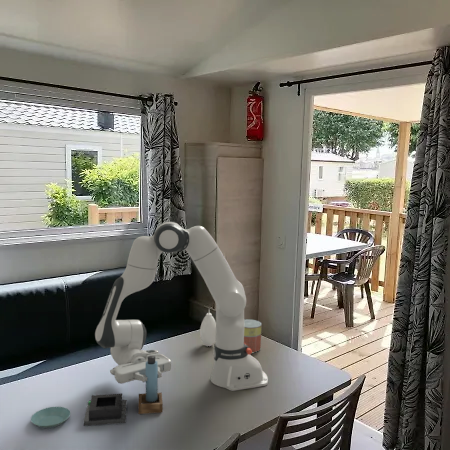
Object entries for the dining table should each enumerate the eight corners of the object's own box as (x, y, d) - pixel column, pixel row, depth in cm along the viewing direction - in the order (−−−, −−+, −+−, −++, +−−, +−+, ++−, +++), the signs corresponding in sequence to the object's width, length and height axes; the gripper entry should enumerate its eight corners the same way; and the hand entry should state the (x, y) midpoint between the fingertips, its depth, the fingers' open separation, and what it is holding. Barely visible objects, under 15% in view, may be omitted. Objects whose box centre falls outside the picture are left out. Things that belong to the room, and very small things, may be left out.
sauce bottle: (210, 350, 208) (211, 311, 206) (196, 346, 212) (197, 308, 210) (219, 345, 214) (220, 307, 212) (206, 341, 219) (207, 304, 216)
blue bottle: (157, 395, 160) (157, 354, 158) (157, 401, 156) (157, 359, 154) (145, 396, 159) (145, 355, 157) (145, 402, 155) (145, 359, 153)
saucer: (24, 423, 146) (23, 416, 146) (57, 408, 155) (57, 402, 155) (43, 437, 139) (43, 430, 139) (77, 421, 148) (77, 414, 148)
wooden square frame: (161, 400, 162) (161, 392, 162) (162, 412, 154) (162, 403, 154) (138, 401, 161) (138, 393, 160) (138, 414, 153) (138, 405, 153)
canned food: (242, 342, 219) (243, 317, 218) (264, 346, 214) (265, 321, 213) (232, 350, 209) (232, 324, 208) (254, 355, 204) (255, 329, 203)
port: (126, 404, 159) (126, 391, 158) (125, 423, 147) (125, 409, 147) (87, 406, 157) (87, 394, 156) (83, 425, 145) (83, 412, 144)
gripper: (107, 361, 160) (123, 376, 149) (160, 348, 172) (178, 361, 161) (108, 378, 161) (123, 394, 150) (160, 364, 173) (178, 378, 162)
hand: (152, 377), depth 155 cm, fingers closed on blue bottle, 4 cm apart
